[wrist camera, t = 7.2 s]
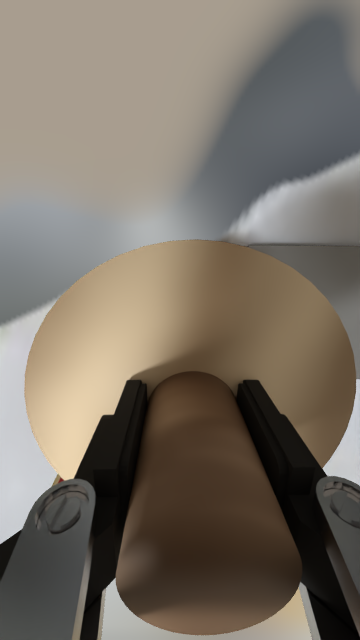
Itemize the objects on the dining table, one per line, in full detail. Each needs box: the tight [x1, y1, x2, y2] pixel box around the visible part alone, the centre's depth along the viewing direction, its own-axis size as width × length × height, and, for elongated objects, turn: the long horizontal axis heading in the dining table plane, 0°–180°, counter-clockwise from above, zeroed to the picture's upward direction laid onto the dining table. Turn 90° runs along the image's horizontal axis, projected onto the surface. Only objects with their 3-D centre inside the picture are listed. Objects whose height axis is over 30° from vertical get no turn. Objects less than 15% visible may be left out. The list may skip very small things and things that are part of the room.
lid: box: [25, 240, 356, 635], centre depth 7 cm, size 13×13×6 cm
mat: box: [248, 245, 360, 379], centre depth 28 cm, size 16×16×1 cm
